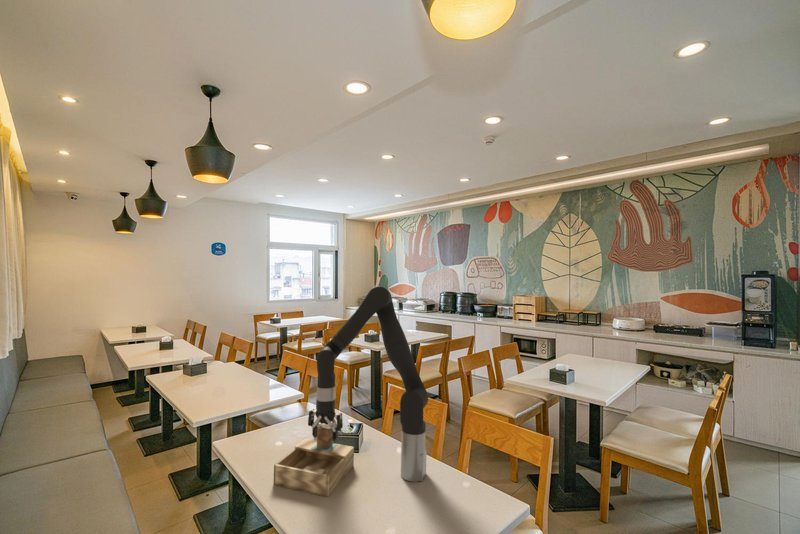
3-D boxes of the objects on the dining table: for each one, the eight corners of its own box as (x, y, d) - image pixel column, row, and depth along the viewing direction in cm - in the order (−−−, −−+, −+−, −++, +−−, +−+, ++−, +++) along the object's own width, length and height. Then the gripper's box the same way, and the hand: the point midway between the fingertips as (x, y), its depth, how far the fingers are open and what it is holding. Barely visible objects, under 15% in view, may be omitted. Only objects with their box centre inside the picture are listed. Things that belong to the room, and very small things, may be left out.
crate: (353, 466, 143) (354, 446, 143) (327, 497, 123) (328, 473, 123) (305, 457, 150) (306, 437, 150) (273, 484, 130) (274, 462, 130)
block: (332, 444, 144) (333, 425, 145) (326, 449, 140) (327, 430, 140) (322, 442, 146) (323, 424, 146) (316, 447, 141) (317, 428, 142)
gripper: (346, 396, 145) (345, 437, 144) (315, 392, 149) (314, 431, 149) (337, 402, 138) (336, 445, 137) (305, 398, 142) (304, 439, 142)
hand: (324, 438), depth 143 cm, fingers open, 8 cm apart
